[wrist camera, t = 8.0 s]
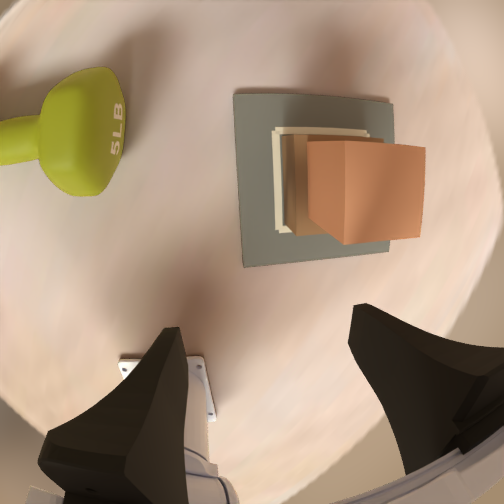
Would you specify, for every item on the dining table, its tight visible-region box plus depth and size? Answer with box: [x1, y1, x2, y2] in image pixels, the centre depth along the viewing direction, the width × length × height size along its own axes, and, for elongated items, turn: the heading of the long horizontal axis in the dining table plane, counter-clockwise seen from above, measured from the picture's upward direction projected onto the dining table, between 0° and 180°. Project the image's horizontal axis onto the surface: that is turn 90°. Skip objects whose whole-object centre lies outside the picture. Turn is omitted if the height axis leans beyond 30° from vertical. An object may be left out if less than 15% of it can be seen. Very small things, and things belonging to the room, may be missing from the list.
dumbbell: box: [0, 67, 126, 196], centre depth 12 cm, size 16×8×7 cm, turn 84°
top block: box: [307, 141, 425, 245], centre depth 14 cm, size 4×4×5 cm
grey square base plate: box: [233, 93, 394, 268], centre depth 20 cm, size 12×12×1 cm
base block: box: [282, 134, 384, 236], centre depth 18 cm, size 6×6×3 cm
